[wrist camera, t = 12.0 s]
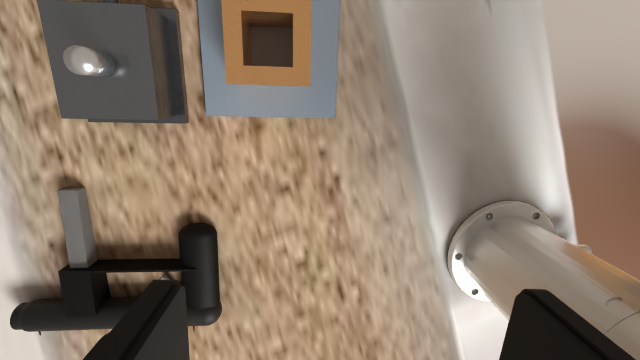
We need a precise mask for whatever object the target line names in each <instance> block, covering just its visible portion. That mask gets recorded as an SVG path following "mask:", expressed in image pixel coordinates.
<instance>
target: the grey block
mask: <svg viewBox="0 0 640 360" xmlns="http://www.w3.org/2000/svg"><path fill="white" fill-rule="evenodd" d="M37 2H38V7H39V12H40V16H41V21H42V26H43V31H44V36H45V41H46V46H47V50H48V55H49V60H50V65H51V70H52V75H53V80H54V84H55V89H56V94H57V99H58V104H59V109H60V114H61V118H74V119H88V122H125V123H189V120H188V109H187V98H186V87H185V76H184V66H183V55H182V44H181V33H180V23H179V12H178V11H177V10H176V9H165V8H149V7H148V6H146V5H141V4H121V3H118V0H102V2H103V3H101V2H82V1H62V0H37Z"/></svg>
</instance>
